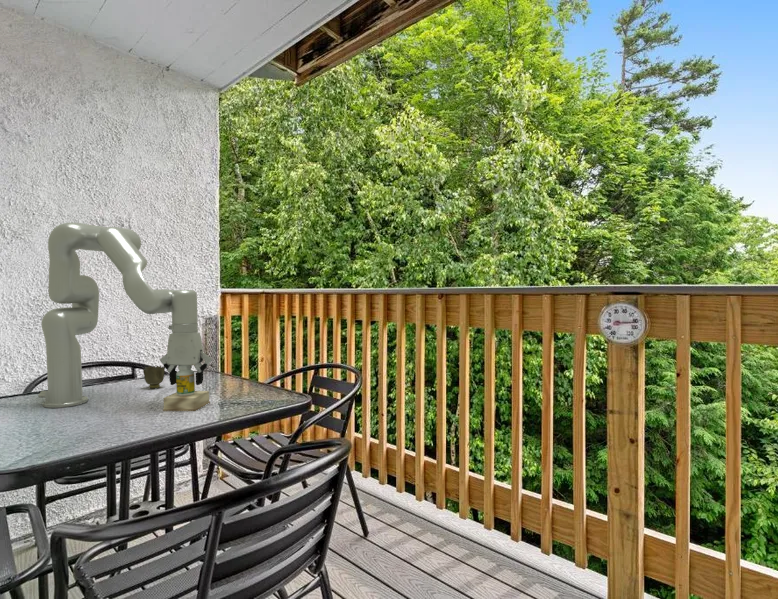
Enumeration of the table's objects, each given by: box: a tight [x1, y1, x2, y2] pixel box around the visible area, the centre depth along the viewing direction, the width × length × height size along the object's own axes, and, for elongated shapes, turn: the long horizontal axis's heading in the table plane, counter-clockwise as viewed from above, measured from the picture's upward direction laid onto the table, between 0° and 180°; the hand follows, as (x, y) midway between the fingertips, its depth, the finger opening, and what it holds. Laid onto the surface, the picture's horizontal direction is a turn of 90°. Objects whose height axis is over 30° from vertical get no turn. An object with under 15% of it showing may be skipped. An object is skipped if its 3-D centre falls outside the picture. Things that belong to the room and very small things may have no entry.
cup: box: [142, 365, 166, 390], centre depth 187 cm, size 8×7×8 cm
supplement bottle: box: [175, 365, 196, 396], centre depth 158 cm, size 5×5×10 cm
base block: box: [162, 390, 211, 412], centre depth 159 cm, size 10×10×4 cm
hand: (186, 383), depth 158 cm, fingers open, 7 cm apart
